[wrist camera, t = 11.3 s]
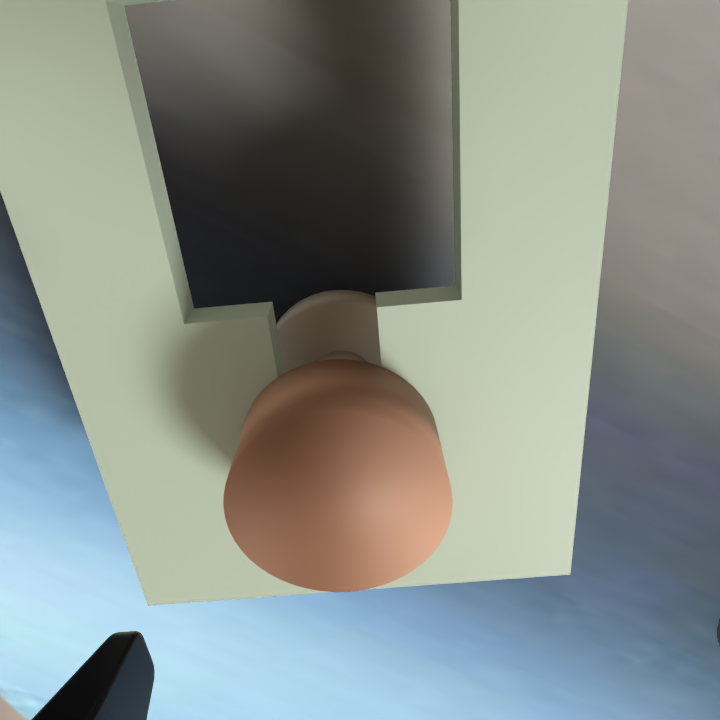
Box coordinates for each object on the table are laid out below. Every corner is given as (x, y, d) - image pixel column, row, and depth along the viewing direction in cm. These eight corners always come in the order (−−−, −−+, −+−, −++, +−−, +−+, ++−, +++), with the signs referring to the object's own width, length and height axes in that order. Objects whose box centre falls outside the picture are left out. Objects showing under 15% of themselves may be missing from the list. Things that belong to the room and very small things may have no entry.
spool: (415, 282, 19) (450, 403, 12) (421, 419, 21) (454, 584, 14) (254, 296, 19) (201, 423, 12) (278, 431, 21) (245, 599, 15)
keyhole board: (543, -114, 15) (649, -215, 10) (519, 456, 23) (570, 574, 18) (48, -62, 15) (-115, -131, 10) (194, 482, 23) (147, 605, 18)
